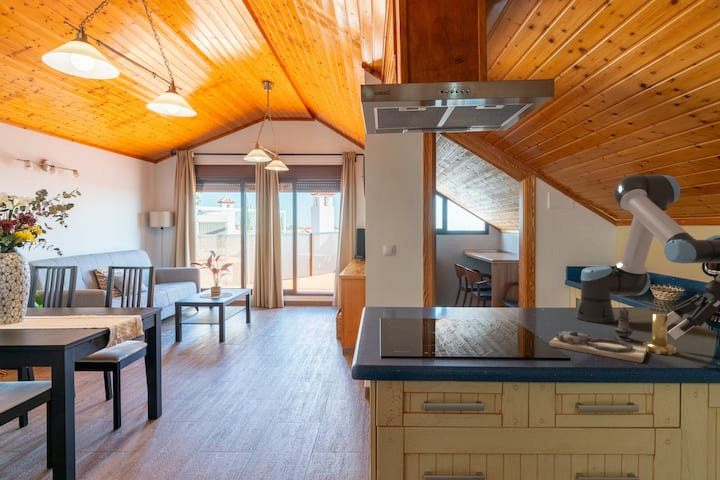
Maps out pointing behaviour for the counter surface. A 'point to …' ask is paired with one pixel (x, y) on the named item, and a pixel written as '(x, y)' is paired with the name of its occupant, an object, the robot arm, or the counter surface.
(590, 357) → the counter surface
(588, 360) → the counter surface
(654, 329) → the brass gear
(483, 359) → the counter surface
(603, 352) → the gear board
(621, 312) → the stone chess piece
